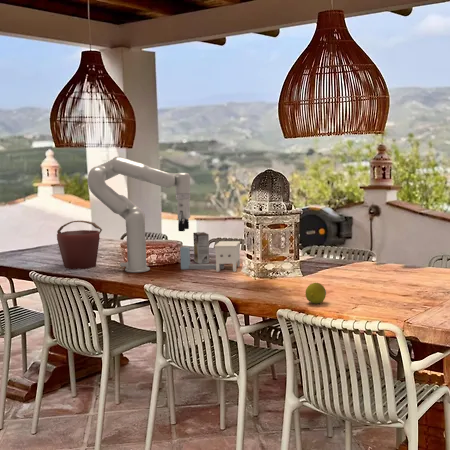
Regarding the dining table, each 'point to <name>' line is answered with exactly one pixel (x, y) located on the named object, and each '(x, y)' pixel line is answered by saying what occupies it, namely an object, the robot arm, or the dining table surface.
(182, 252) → the blue-grey u-shaped bracket
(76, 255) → the bucket
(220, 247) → the cabinet
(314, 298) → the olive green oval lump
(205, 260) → the coffee box
